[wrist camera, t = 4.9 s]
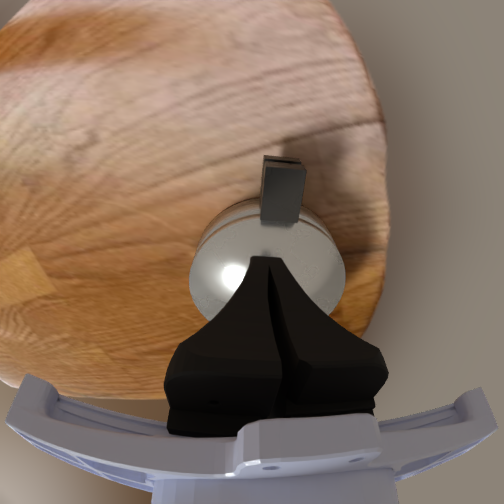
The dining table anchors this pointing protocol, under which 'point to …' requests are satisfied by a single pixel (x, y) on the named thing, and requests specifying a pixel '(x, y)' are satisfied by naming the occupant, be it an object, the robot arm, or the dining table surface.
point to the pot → (258, 207)
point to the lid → (269, 247)
